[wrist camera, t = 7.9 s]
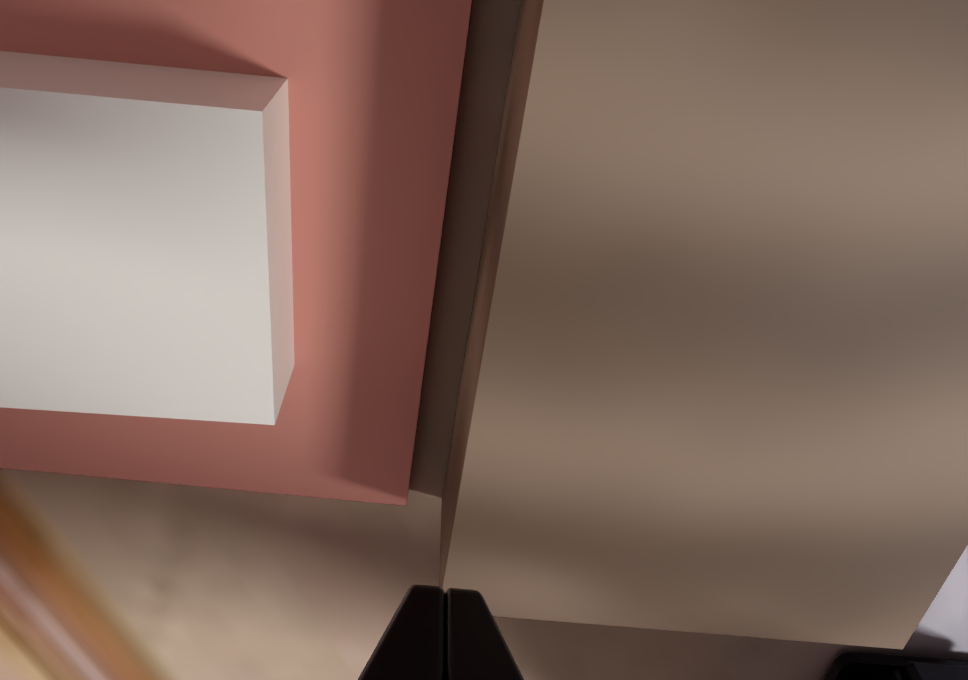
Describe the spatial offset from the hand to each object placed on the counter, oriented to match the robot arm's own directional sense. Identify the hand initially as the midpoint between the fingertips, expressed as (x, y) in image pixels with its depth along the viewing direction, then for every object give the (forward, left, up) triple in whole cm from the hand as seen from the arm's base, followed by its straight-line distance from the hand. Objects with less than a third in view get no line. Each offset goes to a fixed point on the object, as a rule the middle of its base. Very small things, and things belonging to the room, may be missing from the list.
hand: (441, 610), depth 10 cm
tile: (0, +7, -9) cm, 11 cm away
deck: (+1, -7, -11) cm, 13 cm away
